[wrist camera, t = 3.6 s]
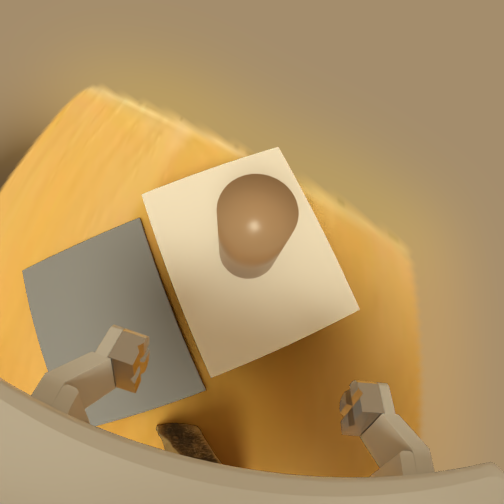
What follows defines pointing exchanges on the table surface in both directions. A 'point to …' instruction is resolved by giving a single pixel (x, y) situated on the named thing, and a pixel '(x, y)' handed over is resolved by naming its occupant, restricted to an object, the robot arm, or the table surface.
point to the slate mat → (111, 317)
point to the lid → (247, 259)
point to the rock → (186, 441)
